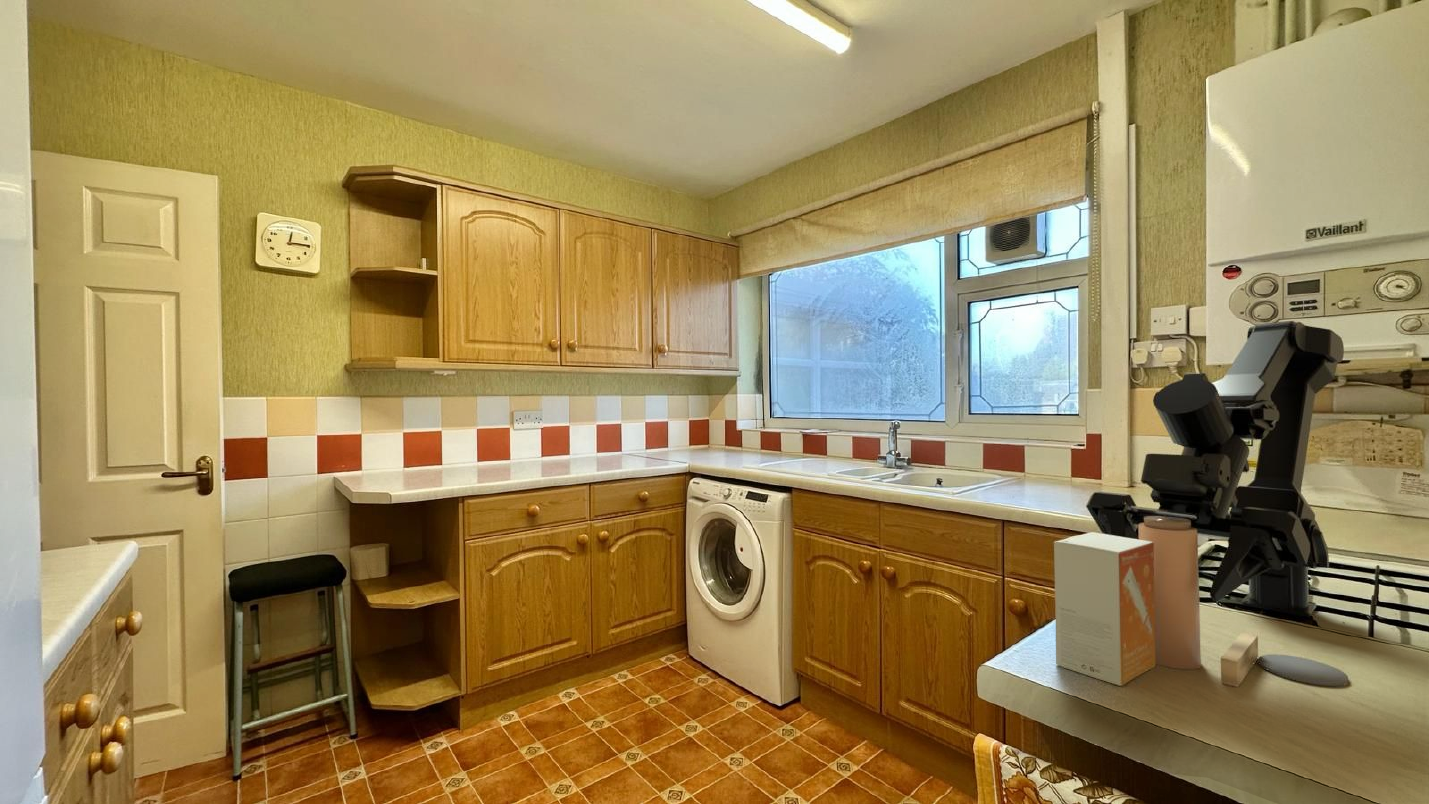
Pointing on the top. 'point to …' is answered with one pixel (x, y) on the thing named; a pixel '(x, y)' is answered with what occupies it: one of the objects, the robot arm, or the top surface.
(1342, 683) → the coaster
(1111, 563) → the small box
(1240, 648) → the block
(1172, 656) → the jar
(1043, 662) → the top surface
